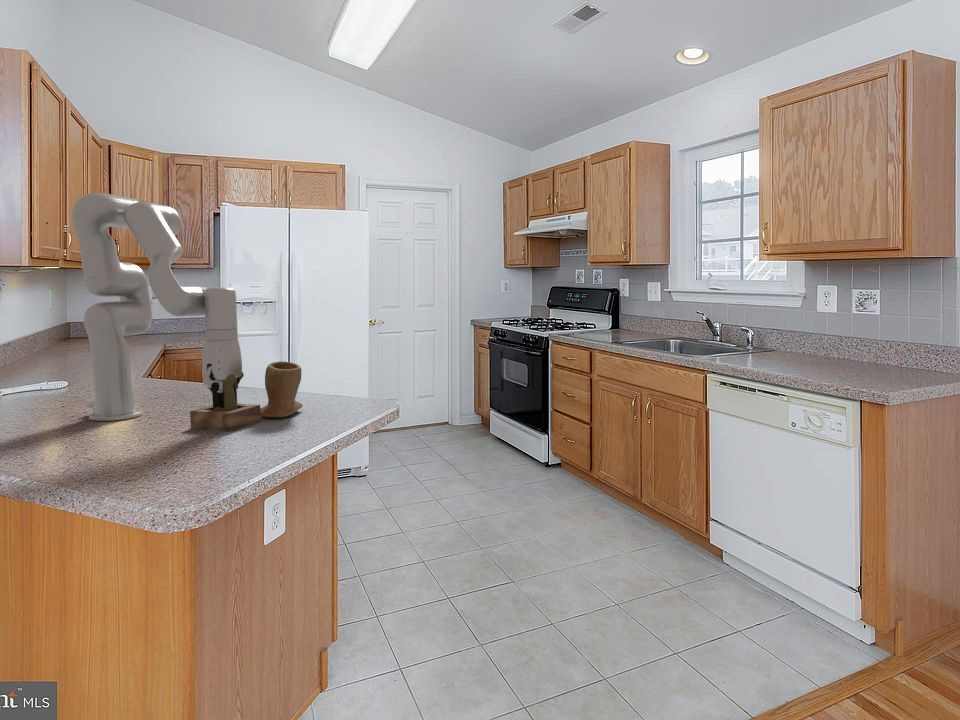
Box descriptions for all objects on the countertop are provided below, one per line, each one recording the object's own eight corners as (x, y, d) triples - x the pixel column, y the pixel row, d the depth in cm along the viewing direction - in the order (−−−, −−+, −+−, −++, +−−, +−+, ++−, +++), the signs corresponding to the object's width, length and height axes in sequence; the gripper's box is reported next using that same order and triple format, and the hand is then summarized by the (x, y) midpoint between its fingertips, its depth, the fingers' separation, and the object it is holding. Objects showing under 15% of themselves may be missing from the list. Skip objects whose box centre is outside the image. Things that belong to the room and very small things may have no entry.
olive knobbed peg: (229, 416, 157) (227, 374, 155) (208, 415, 158) (206, 373, 157) (243, 412, 163) (241, 371, 161) (222, 411, 164) (220, 370, 162)
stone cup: (292, 421, 165) (290, 365, 163) (250, 420, 166) (247, 365, 164) (313, 410, 180) (312, 359, 178) (274, 409, 181) (272, 358, 179)
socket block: (190, 428, 157) (189, 410, 156) (223, 418, 168) (222, 402, 167) (230, 431, 153) (229, 413, 152) (261, 421, 164) (260, 404, 164)
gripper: (232, 333, 167) (235, 399, 169) (185, 338, 151) (189, 411, 153) (255, 333, 165) (258, 401, 167) (210, 338, 149) (214, 413, 151)
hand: (225, 405), depth 160 cm, fingers closed on olive knobbed peg, 4 cm apart
